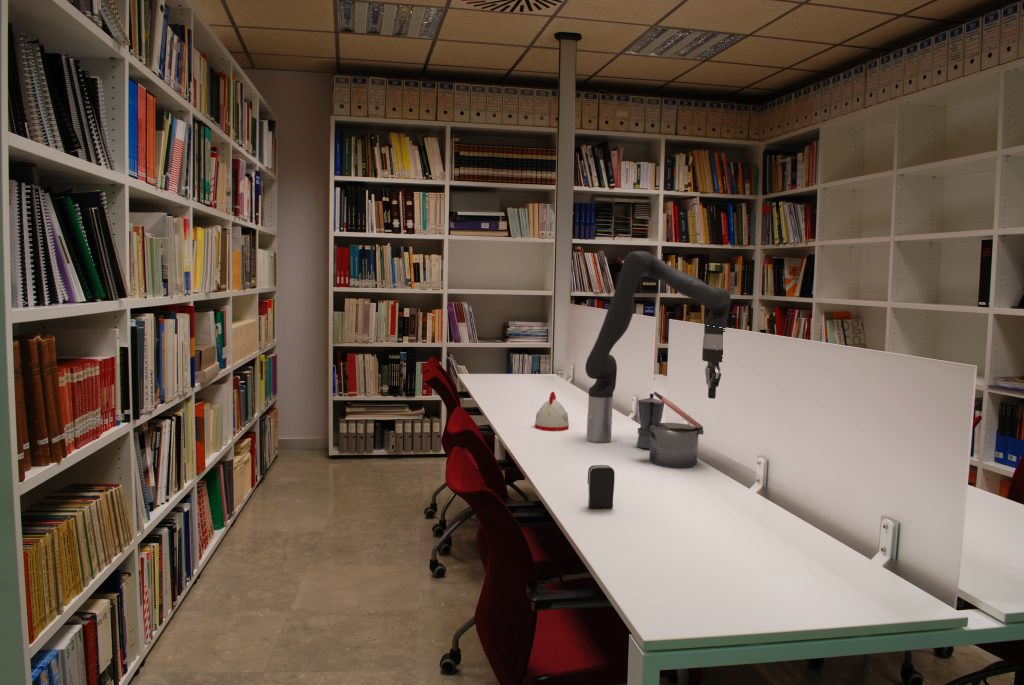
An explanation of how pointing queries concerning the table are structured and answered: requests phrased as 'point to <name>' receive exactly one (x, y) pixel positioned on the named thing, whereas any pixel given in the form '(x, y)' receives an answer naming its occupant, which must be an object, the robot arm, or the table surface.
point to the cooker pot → (672, 444)
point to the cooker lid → (678, 411)
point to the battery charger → (600, 486)
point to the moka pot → (649, 417)
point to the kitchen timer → (552, 416)
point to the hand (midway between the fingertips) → (711, 398)
